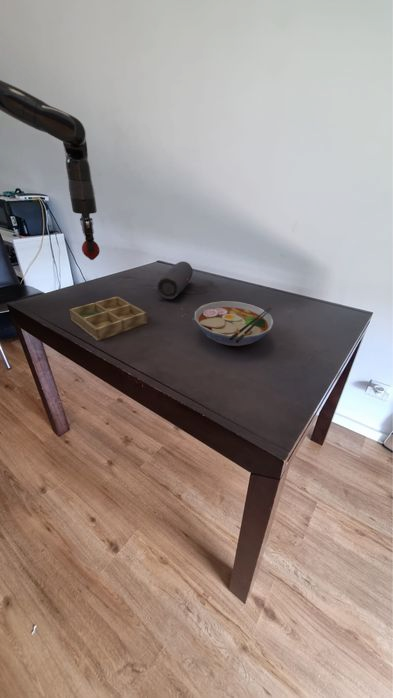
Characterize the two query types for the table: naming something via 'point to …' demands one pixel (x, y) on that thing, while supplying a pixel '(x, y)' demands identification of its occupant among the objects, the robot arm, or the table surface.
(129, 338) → the table surface
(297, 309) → the table surface
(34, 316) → the table surface
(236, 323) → the ramen bowl
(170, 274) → the bluetooth speaker
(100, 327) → the compartment tray
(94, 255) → the onion
